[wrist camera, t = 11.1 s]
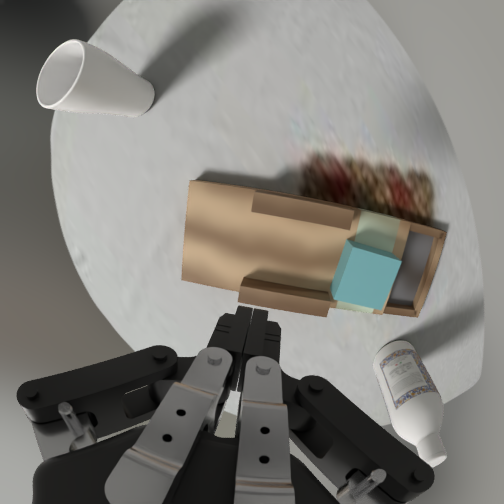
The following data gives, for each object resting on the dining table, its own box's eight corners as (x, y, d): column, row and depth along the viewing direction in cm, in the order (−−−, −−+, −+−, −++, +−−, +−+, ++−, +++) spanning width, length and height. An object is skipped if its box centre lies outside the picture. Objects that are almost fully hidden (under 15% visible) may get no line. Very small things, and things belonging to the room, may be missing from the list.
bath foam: (405, 371, 35) (444, 469, 16) (367, 375, 36) (395, 483, 17) (418, 337, 33) (474, 437, 14) (378, 339, 34) (422, 454, 15)
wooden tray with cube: (195, 179, 31) (181, 182, 26) (441, 229, 28) (459, 238, 24) (186, 273, 34) (173, 288, 30) (413, 312, 32) (426, 328, 28)
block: (346, 239, 29) (352, 246, 26) (391, 252, 28) (401, 261, 25) (329, 287, 30) (333, 299, 28) (373, 298, 30) (381, 310, 27)
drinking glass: (127, 73, 27) (51, 42, 13) (169, 78, 27) (97, 34, 13) (111, 119, 29) (27, 107, 15) (151, 127, 29) (68, 111, 15)
